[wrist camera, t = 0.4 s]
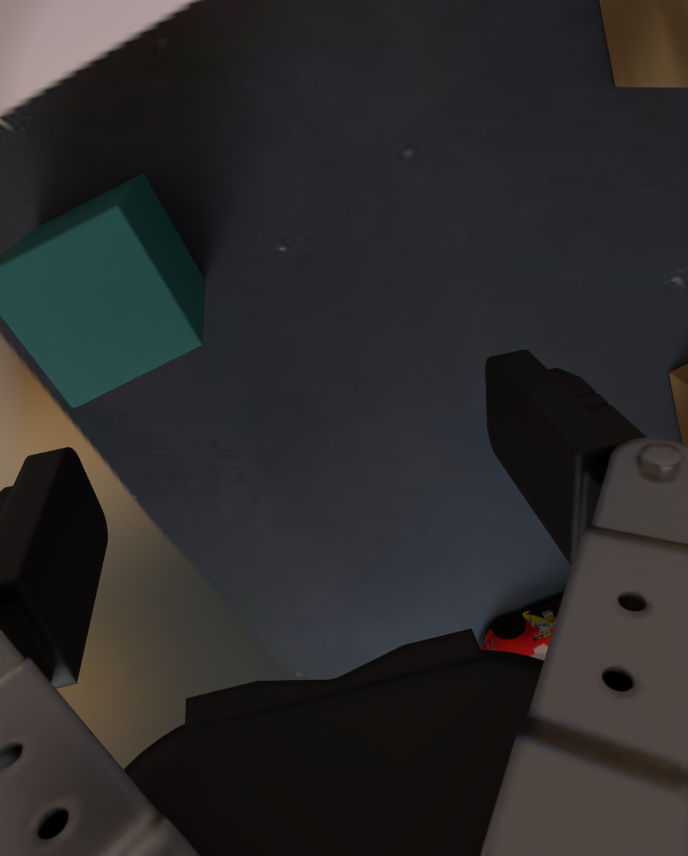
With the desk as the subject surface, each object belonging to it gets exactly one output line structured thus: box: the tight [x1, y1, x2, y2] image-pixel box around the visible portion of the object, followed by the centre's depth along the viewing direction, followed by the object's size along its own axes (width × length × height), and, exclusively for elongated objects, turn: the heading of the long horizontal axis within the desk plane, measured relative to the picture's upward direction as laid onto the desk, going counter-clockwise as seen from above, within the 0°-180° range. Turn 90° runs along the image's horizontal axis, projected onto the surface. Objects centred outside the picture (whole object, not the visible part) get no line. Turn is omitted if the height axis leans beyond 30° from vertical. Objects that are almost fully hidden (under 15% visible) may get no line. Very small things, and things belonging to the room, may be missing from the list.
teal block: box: [0, 174, 205, 408], centre depth 24 cm, size 5×5×8 cm
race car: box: [481, 597, 563, 660], centre depth 41 cm, size 13×5×4 cm, turn 108°
